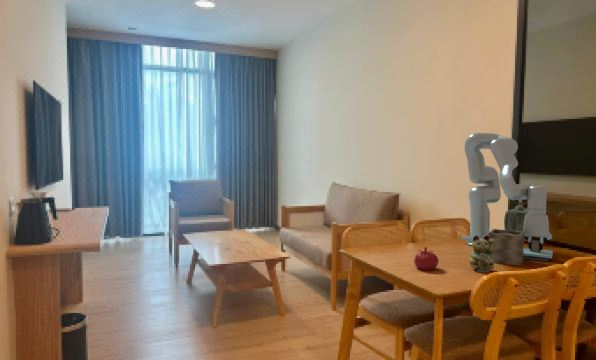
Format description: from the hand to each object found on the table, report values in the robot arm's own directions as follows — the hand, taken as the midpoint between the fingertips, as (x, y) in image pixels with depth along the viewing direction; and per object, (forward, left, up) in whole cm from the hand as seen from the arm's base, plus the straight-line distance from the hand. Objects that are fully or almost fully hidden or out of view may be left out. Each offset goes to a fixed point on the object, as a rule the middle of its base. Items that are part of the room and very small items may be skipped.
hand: (535, 250), depth 193 cm
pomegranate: (-38, -47, -4) cm, 60 cm away
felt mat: (0, 0, -3) cm, 3 cm away
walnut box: (-11, -14, -3) cm, 18 cm away
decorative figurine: (-18, -37, -4) cm, 41 cm away
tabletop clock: (-10, +38, -4) cm, 40 cm away
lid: (0, 0, -1) cm, 1 cm away
